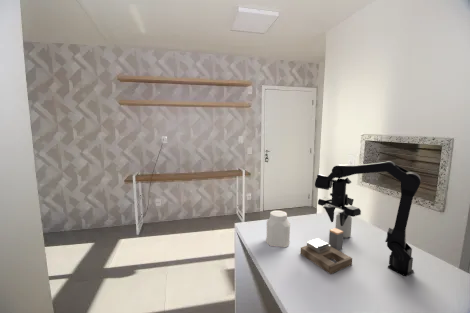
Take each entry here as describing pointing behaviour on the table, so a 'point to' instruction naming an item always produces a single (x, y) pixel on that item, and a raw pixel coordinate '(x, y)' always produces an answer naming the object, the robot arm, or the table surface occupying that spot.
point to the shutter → (318, 245)
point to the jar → (278, 229)
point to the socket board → (327, 259)
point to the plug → (336, 238)
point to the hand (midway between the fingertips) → (336, 223)
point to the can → (346, 227)
